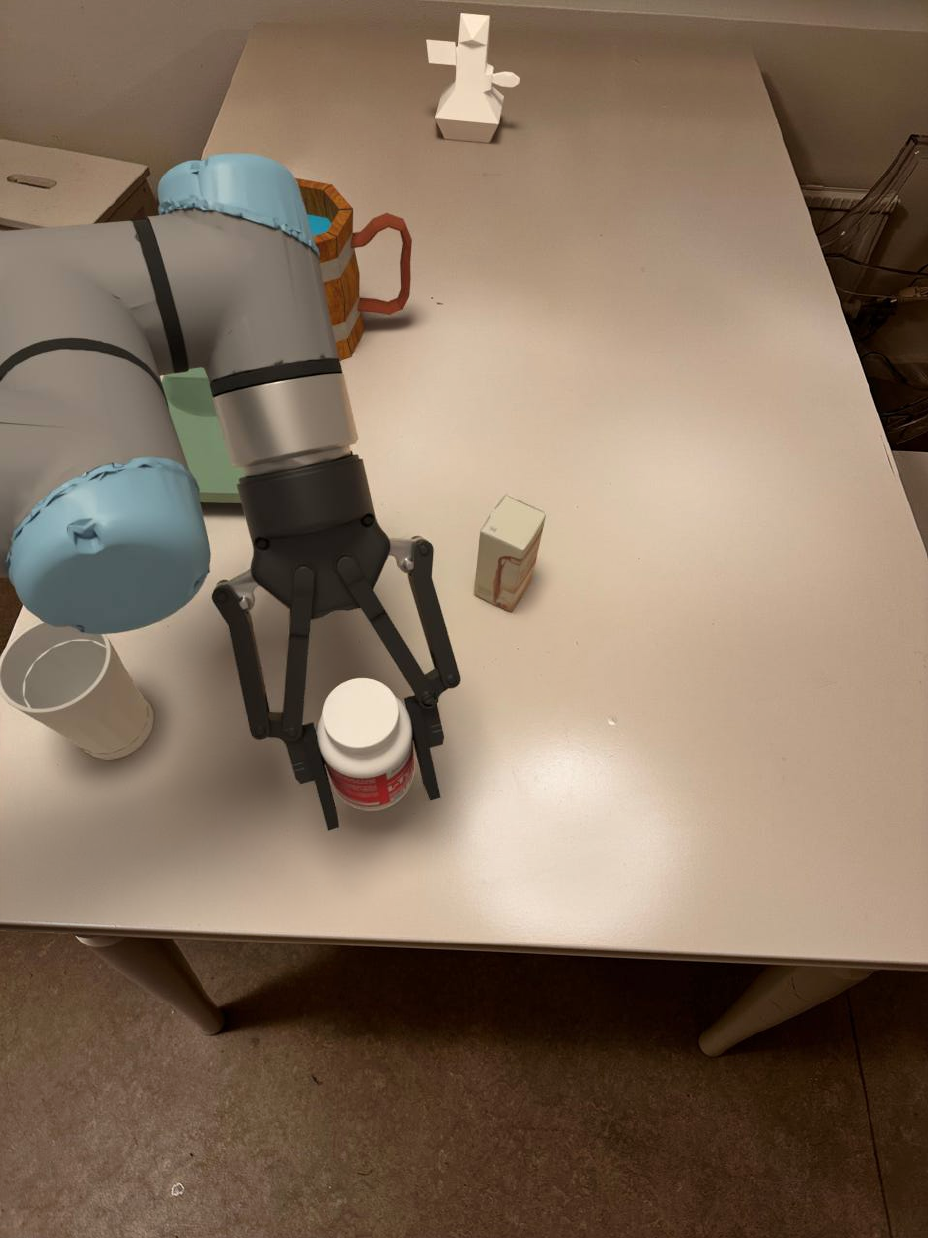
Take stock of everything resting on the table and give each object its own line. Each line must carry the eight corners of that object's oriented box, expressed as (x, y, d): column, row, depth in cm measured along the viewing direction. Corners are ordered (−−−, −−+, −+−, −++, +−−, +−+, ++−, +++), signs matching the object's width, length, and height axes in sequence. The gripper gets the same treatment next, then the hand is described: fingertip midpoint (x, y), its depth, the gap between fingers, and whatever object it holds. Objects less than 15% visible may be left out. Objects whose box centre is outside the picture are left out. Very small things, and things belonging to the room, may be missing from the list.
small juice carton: (512, 614, 71) (522, 553, 62) (472, 594, 72) (476, 531, 63) (536, 575, 73) (549, 511, 65) (497, 556, 74) (504, 491, 66)
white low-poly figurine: (512, 148, 113) (521, 42, 101) (421, 140, 113) (419, 33, 101) (517, 120, 117) (526, 15, 105) (429, 111, 117) (428, 6, 106)
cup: (178, 736, 64) (127, 675, 53) (87, 787, 61) (15, 733, 51) (142, 667, 67) (87, 597, 57) (54, 713, 65) (-19, 648, 54)
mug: (253, 374, 86) (220, 255, 74) (254, 300, 93) (223, 179, 80) (420, 362, 88) (417, 243, 75) (409, 290, 95) (404, 170, 82)
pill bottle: (402, 821, 53) (395, 771, 43) (320, 802, 53) (295, 747, 44) (424, 741, 56) (422, 677, 46) (346, 723, 56) (328, 656, 47)
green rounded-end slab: (259, 518, 76) (250, 493, 72) (141, 515, 76) (127, 490, 72) (288, 370, 87) (281, 342, 84) (185, 367, 87) (174, 339, 83)
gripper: (440, 430, 49) (501, 744, 55) (141, 491, 45) (242, 818, 52) (467, 429, 42) (533, 789, 48) (115, 500, 38) (236, 878, 45)
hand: (382, 804), depth 50 cm, fingers closed on pill bottle, 6 cm apart
